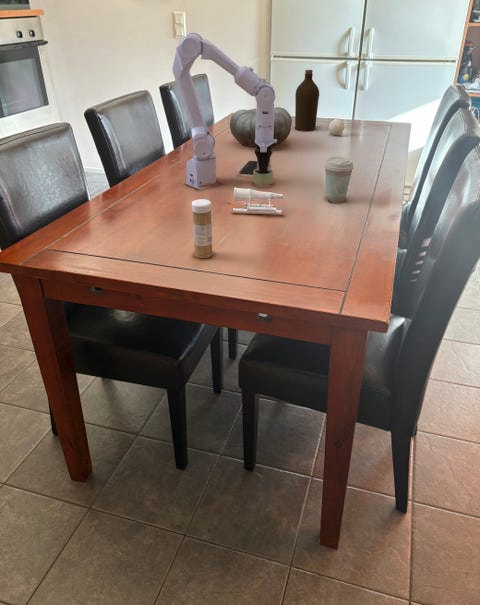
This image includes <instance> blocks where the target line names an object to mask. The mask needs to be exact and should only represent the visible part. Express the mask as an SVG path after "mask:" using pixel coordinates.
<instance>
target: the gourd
mask: <svg viewBox="0 0 480 605" xmlns="http://www.w3.org/2000/svg"><path fill="white" fill-rule="evenodd" d="M256 109H257V108H251V109H239V110H236V111H234V113H233V114H232V115H231V117H230V122H229V129H230V133H231V135H232V136H233V138H234V139H235V140H236V141H237V142H238V143H239V144H240V145H242V146H246V147H256V148H257V146H256V143H255V125H256ZM273 109H274V134H273V139H277V143H273V146H272V148H273V147H276V146H277V145H280V144H281V143H283V142H285V140H286V139H288V137H289V135H290V134H291V131H292V126H293V119H292V116H291V114H290V113H289V111H288V110H287V109H285V108H284V107H280V106H274V108H273Z"/></svg>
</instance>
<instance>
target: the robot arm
mask: <svg viewBox="0 0 480 605" xmlns="http://www.w3.org/2000/svg"><path fill="white" fill-rule="evenodd" d="M177 44H178V45H177V46H176V49H175V54H174V59H173V63H172V75H173V78H174V80H175V84H176V87H177V90H178V93H179V96H180V100H181V102H182V105H183V109H184V113H185V115H186V117H187V122H188V124H189V127H190V132H191V139H192V144H193V145H192V152H193V156H192V158H191V159H189V160H187V162H185V175H186V176H185V177H186V182H185V185H187V186H189V187H191V188H195V190H200V189H201V187H203V186H209V185H213V184H216V183H217V161H216V160H217V156H216V155H217V154H216V153H214V148H215V145H216V140H215V137H214V136H213V134H212V133H211V132H210V130H209V127H208V125H207V124H206V120H205V118H204V114H203V111H202V108H201V104H200V101H199V97H198V94H197V91H196V88H195V85H194V84H195V83H194V80H193V78H192V74H191V69H192V67H193V65H194V64H195V61H196V59H198V58H199V57H200V55H201V57H200V60H206V61H212V62H213V63H215V64H216V65H218V66H219V67H220V68H222V69H223V70H224V71H226V72H227V73H228V74H230V75H231V76H233V80H234V83H235V85H237V86H238V87H239V88H241V89H242V90H243V91H245V93H247V94H248V95H250V97H255V101H256V108H255V109H256V125H255V143H256V148H257V149H254V155H255V156H256V161H257V160H258V165H259V171H260V173H266V172H267V168H268V163H269V159H270V160H271V157H272V155H273V150H272V148H273V147H274V146H273V143H277V139H273V134H274V109H273V108H275V101H276V97H277V96H276V92H275V91H276V90H275V88H274V87H273V85H272V84H271V82H268V81H267V79H266V78H264V77H263V78H262V77H260V75H258V73H256V72H255V70H254V68H253V67H252V66H249V67H248V66H247V65H243V66H240V65H239V64H237V63H236V62H235V61H234V60H232V58H230V57H229V56H228V55H227V54H226V53H224V52H223V51H222V50H221V49H220V48H219V47H218V46H217V45H215V44H214V43H212V42H211V41H210V40H208V39H206V38H203V37H202V36H201V35H200V34H198V33H197V32H190V33H188V34H186V35H185V36H183V37H182V38H181V40H180V41H179V42H178V43H177ZM272 146H273V147H272Z"/></svg>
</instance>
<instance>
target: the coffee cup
mask: <svg viewBox="0 0 480 605" xmlns="http://www.w3.org/2000/svg"><path fill="white" fill-rule="evenodd" d="M323 166H324V169H325V171H324V172H325V173H324V175H325V198H326V199H327V201H328V202H329V203H334V204H340V203H344V202H346V198H347V194H348V189H349V186H350V180H351V178H352V173H353V170H354V168H355V167H354V163H353V160H352V159H351V158H348V157H341V156H334V157H329V158H327V159H326V161H325V163H324V165H323Z"/></svg>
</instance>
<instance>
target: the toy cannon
mask: <svg viewBox="0 0 480 605" xmlns="http://www.w3.org/2000/svg"><path fill="white" fill-rule="evenodd" d="M276 199H284V193H276V192H272V191H259V190H256V189H252V188H251V187H250V188H241V187H234V188H233V202H244V208H237V207H233V208H232V214H247V215H268V216H271V215H272V216H283V215H282V214H283V210H282V209H277V207H275V205H274V204H271V200H276ZM259 200H269V201H268V204H264V203H251V202H252V201H259ZM247 202H248V203H247Z"/></svg>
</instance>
